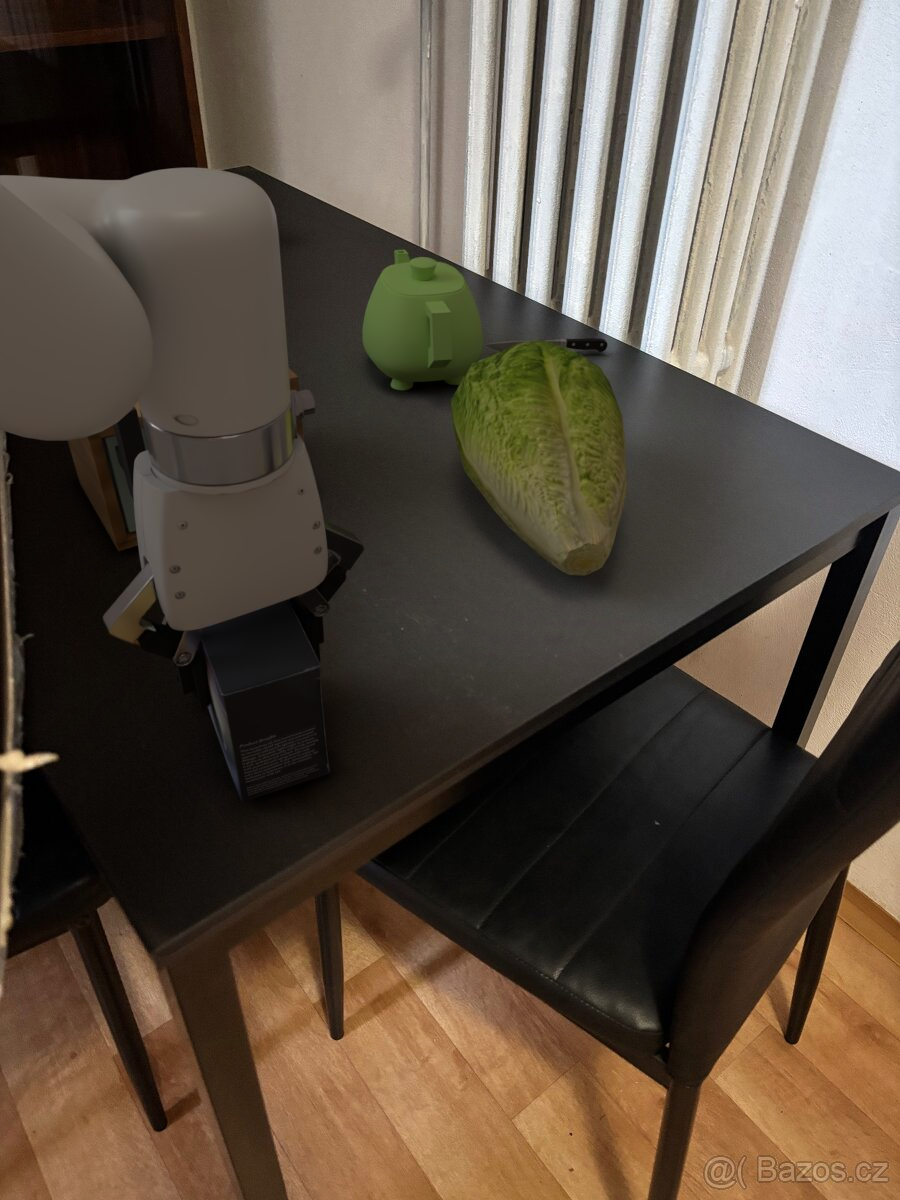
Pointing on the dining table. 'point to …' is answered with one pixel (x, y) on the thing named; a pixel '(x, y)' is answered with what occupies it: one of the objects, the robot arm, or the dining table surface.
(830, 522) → the dining table surface
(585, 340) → the knife
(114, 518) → the cabinet
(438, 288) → the teapot
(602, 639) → the dining table surface
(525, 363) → the lettuce
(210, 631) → the small box
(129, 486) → the sliding door
